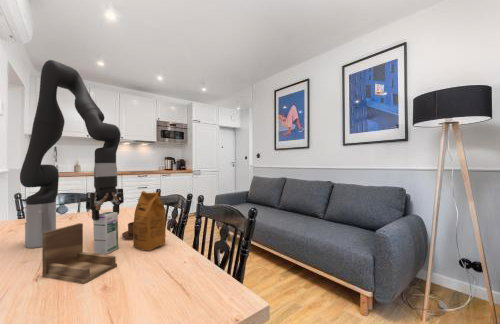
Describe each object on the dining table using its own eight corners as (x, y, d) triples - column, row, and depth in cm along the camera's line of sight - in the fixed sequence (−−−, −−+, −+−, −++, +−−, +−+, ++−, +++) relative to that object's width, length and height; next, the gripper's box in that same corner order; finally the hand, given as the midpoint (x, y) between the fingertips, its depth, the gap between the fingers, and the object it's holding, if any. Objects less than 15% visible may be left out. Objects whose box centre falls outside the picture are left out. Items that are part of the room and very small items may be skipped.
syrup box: (106, 254, 83) (106, 215, 83) (93, 253, 84) (93, 214, 84) (118, 248, 89) (118, 211, 89) (105, 247, 90) (105, 211, 90)
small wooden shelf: (42, 276, 67) (42, 232, 67) (79, 261, 78) (79, 223, 78) (83, 284, 63) (83, 237, 63) (116, 266, 73) (116, 226, 73)
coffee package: (151, 239, 100) (151, 189, 100) (169, 245, 92) (168, 191, 92) (128, 246, 91) (128, 191, 92) (145, 253, 84) (145, 194, 84)
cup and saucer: (156, 235, 106) (156, 221, 106) (131, 242, 96) (131, 228, 96) (141, 231, 113) (141, 218, 113) (116, 237, 102) (116, 224, 102)
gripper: (113, 174, 95) (114, 213, 94) (79, 176, 81) (80, 221, 81) (128, 174, 92) (129, 214, 92) (96, 176, 79) (96, 222, 79)
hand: (106, 217), depth 86 cm, fingers open, 8 cm apart
